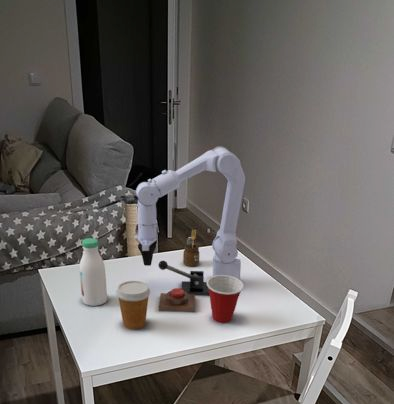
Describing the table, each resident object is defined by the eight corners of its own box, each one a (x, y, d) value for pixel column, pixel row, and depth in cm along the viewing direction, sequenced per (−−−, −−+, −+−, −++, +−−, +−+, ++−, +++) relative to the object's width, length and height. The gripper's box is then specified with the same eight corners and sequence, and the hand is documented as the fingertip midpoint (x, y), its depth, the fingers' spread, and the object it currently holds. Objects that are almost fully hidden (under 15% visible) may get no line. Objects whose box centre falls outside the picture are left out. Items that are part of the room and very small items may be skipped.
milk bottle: (112, 298, 157) (108, 238, 146) (98, 308, 151) (93, 246, 140) (91, 293, 159) (86, 234, 149) (77, 303, 153) (71, 242, 143)
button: (183, 293, 155) (184, 288, 154) (183, 299, 151) (183, 294, 150) (171, 293, 155) (171, 288, 154) (170, 298, 151) (170, 293, 150)
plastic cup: (215, 331, 142) (218, 293, 136) (198, 314, 150) (199, 278, 144) (247, 323, 146) (251, 286, 140) (229, 307, 154) (231, 272, 148)
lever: (156, 269, 159) (160, 261, 157) (157, 265, 161) (160, 257, 160) (198, 286, 162) (202, 278, 160) (198, 282, 164) (202, 275, 163)
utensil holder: (181, 265, 181) (182, 234, 175) (185, 259, 186) (186, 229, 180) (197, 267, 180) (198, 236, 174) (200, 261, 185) (202, 230, 179)
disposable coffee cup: (118, 316, 147) (116, 280, 141) (150, 316, 148) (150, 280, 142) (116, 333, 139) (114, 295, 133) (150, 332, 140) (150, 295, 133)
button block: (194, 298, 159) (195, 289, 157) (194, 312, 151) (194, 302, 149) (160, 297, 158) (160, 288, 157) (158, 311, 151) (158, 301, 149)
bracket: (181, 294, 161) (181, 278, 158) (181, 284, 168) (182, 268, 164) (211, 295, 161) (212, 279, 158) (211, 285, 168) (211, 269, 165)
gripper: (136, 215, 158) (137, 254, 165) (131, 230, 146) (133, 272, 153) (158, 215, 159) (158, 255, 166) (155, 231, 146) (155, 273, 153)
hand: (147, 263), depth 159 cm, fingers closed
